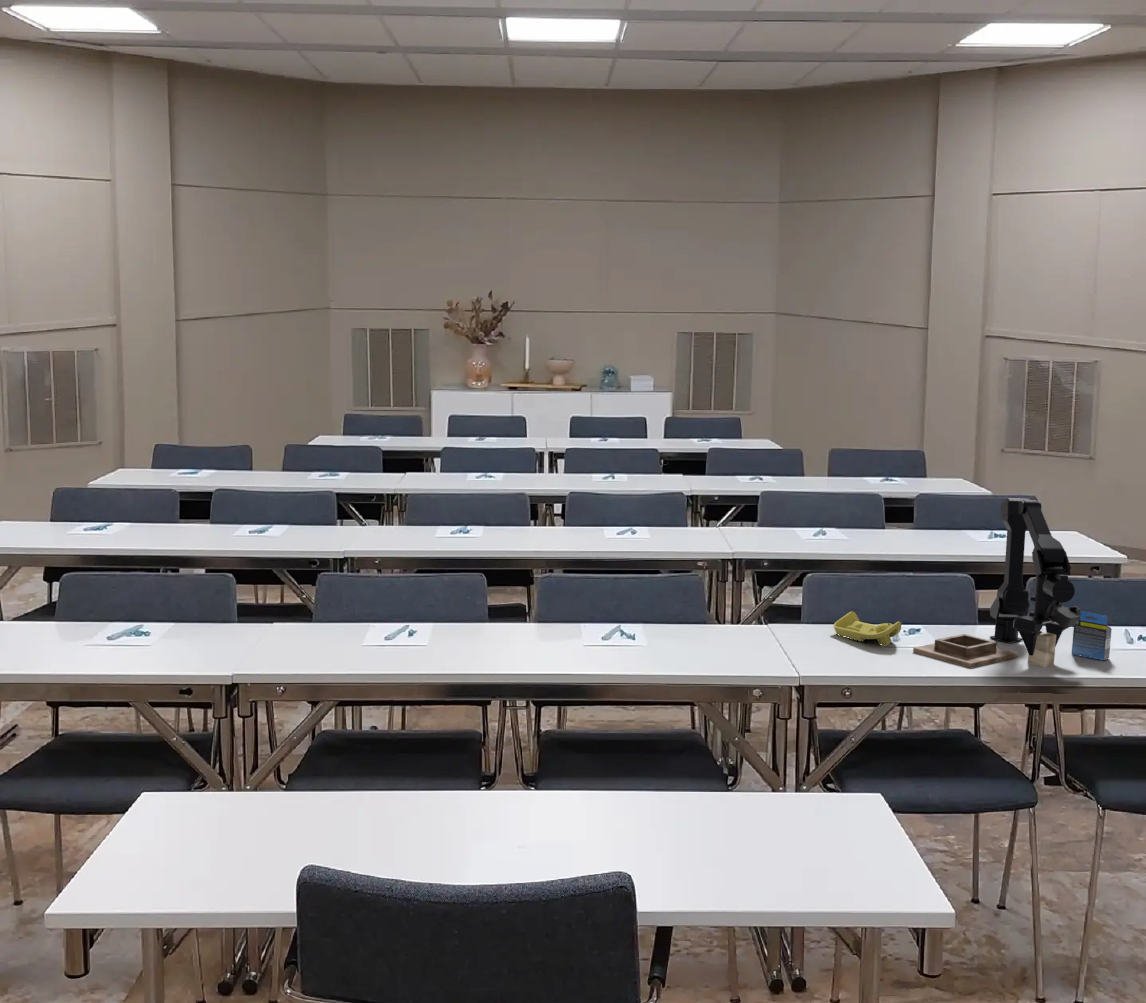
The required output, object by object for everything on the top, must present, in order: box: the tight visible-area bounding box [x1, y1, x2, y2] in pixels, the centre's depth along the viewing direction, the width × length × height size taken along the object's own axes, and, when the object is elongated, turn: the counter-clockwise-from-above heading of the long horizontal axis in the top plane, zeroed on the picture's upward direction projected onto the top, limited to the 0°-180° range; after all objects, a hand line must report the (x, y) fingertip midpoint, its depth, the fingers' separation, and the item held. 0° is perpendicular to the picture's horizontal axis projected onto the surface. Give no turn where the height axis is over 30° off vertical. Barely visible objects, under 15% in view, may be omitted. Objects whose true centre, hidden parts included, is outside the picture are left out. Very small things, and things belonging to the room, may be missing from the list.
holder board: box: [912, 633, 1018, 669], centre depth 339 cm, size 20×18×4 cm
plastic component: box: [833, 611, 902, 647], centre depth 351 cm, size 20×7×10 cm
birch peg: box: [1027, 630, 1057, 668], centre depth 332 cm, size 4×5×8 cm
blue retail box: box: [1071, 610, 1112, 661], centre depth 340 cm, size 9×4×12 cm, turn 45°
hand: (1041, 652), depth 332 cm, fingers open, 9 cm apart
